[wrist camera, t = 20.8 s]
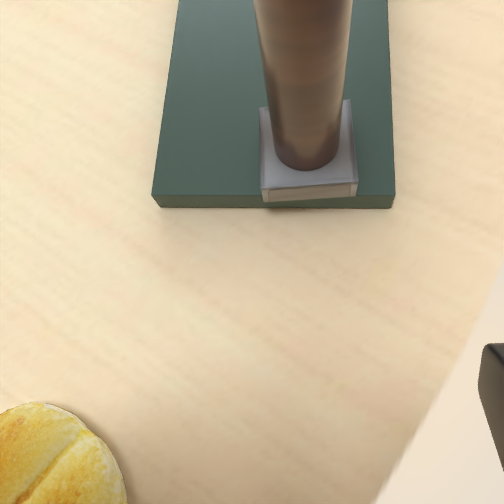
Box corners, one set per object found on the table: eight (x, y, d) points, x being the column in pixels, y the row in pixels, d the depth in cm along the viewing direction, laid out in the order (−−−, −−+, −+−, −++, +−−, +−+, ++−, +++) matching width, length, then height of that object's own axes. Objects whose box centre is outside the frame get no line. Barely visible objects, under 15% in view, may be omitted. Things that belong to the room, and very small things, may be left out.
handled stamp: (355, 196, 22) (412, -94, 9) (263, 202, 23) (200, -66, 10) (347, 117, 24) (388, -226, 11) (261, 125, 24) (204, -195, 11)
